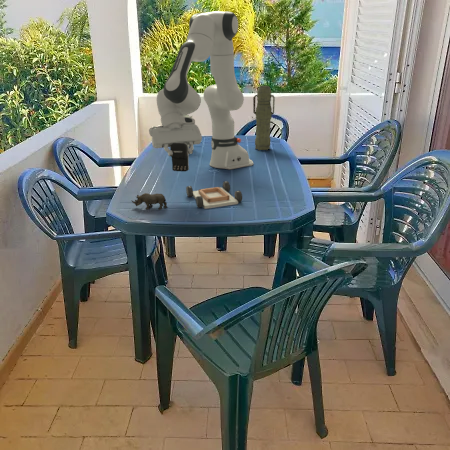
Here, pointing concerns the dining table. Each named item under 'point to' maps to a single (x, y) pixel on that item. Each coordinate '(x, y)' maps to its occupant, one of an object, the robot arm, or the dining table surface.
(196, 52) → the robot arm
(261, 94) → the thermos
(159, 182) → the dining table surface
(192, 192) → the chassis
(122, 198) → the dining table surface
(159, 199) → the rhino figurine
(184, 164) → the battery charger
